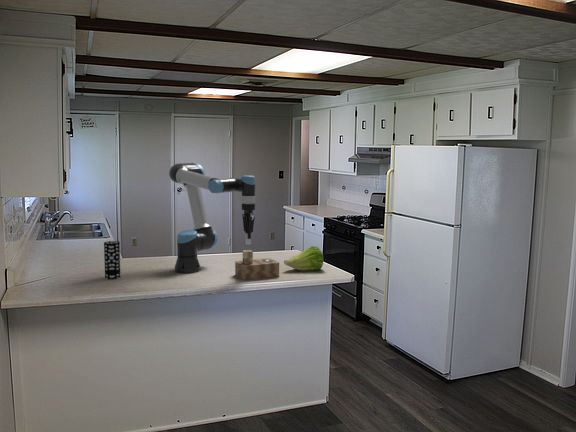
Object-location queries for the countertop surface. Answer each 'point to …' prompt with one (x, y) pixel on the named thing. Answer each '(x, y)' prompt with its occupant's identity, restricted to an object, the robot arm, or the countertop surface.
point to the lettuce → (306, 260)
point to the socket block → (257, 269)
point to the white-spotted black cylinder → (112, 259)
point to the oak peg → (247, 257)
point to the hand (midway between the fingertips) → (248, 244)
